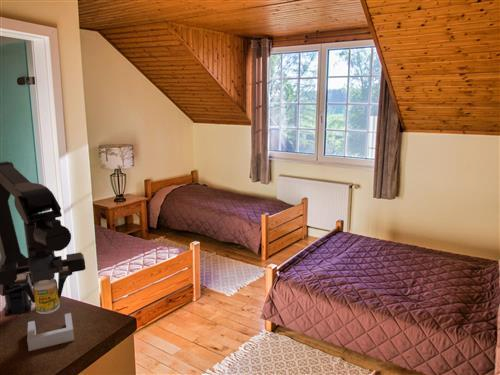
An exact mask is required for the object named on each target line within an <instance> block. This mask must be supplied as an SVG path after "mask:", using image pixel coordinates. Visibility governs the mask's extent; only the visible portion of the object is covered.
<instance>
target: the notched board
mask: <svg viewBox="0 0 500 375" xmlns="http://www.w3.org/2000/svg"><path fill="white" fill-rule="evenodd" d="M72 319H73V318H72V313H71V312H69V313H68V312H67V313H65V314H64V321H65V327H63V328H59V329H54V330H50V331H46V332H42V333H37V330H36V329H37V328H36V322H35V320H32V321H28V322H27V335H26V336H27V338H26V341H27V342H26V343H27V346H28V347H27V348H28V352H31V351H35V350H40V349H43V348H48V347H52V346H56V345H59V344H64V343H69V342H72V341H75V334H74V327H73V326H74V325H73V320H72Z"/></svg>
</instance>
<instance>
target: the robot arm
mask: <svg viewBox="0 0 500 375" xmlns="http://www.w3.org/2000/svg"><path fill="white" fill-rule="evenodd" d="M11 195H12V196H13V198H14V202H13V203H14V206H15V209H16V212H17V213H18V214H19V216H20V219H21V220H22V222H23V229H24V237H25V243H26V244H25V245H26V251H27V256H25V255H24V254H23V253H22V251H21V248H20V245H19V240H18V236H17V232H16V228H15V224H14V220H13V216H12V213H11V207H10V203H9V199H10V197H11ZM61 210H62V208H61V206H60V204H59V202H58V201H57V198H56V197H55V194H53V192H52V191H51V190H50V189H49V187H47V186H45V185H44V184H42V183H37V182H32V181H30V180H29V179H28V178H26V177H25V175H23V174H22V173H21V172H20V171H19V170H18V169H17V168H16V167H15V166H14V164H13V162H12V161H0V256H1V258H0V296H2V297H4V302H5V307H4V315H3V316H5V317H7V316H12V315H17V314H22V313H26V312H27V313H28V312H31V311H32V304H35V300H34V293H33V284H34V283H36V282H39V281H44V280H52V279H53V278H54V279H55V276H56V274H58V275H57V278H58V279H57V287H58V296H59V299H60V298H62V293H63V289H64V286H65V282H66V280H67V278H68V277H69V276H72V275H73V273H76V272H81V271H85V270H86V261H85V256H84V254H83V253H82V252H75V253H74V252H73V253H68V254H66V255H65V256H66V258H65V259H62V257H63V256H62V255H59V256H56V254H55V252H60V251H63V250H64V249H66V248H67V247H68V246H69V244H70V242H71V240H72V234H71V231H70V230H69V228H68V227H67V226H64V225H62V223H61V220H60V219H58V218H61V217H63V216H62V212H61ZM56 218H57V219H56Z"/></svg>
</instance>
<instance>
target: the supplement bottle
mask: <svg viewBox="0 0 500 375" xmlns="http://www.w3.org/2000/svg"><path fill="white" fill-rule="evenodd" d="M32 288H33V293H34V300H35V303H34V305H35V311H36V312H37V313H38V314H42V315H45V314H46V315H47V314H52V313H54V312H55V311H57V310H58V309H59V308H60V306H61V305H60V298H59V296H58V280H57V279H56V278H55V277H54V278H53V279H52V280H44V281H39V282H36V283H34V284H33V286H32Z"/></svg>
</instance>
